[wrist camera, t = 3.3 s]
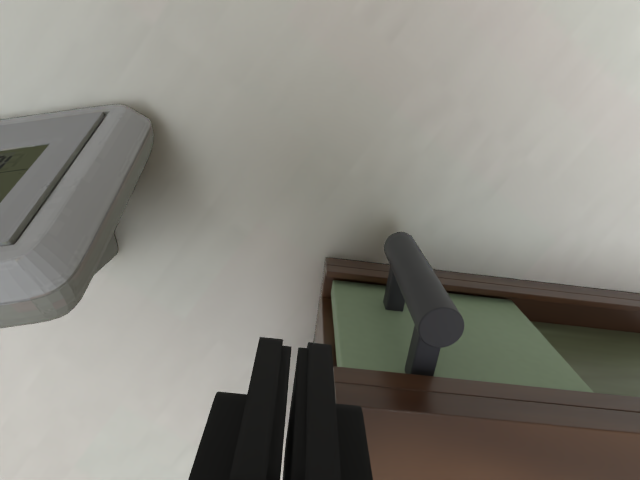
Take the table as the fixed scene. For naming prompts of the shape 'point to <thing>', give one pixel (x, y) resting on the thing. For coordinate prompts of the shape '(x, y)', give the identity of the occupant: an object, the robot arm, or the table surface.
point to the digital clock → (63, 203)
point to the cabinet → (504, 392)
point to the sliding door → (440, 329)
